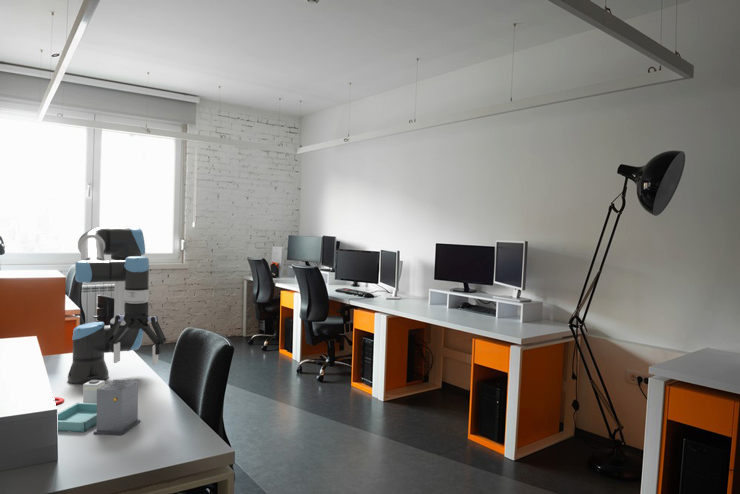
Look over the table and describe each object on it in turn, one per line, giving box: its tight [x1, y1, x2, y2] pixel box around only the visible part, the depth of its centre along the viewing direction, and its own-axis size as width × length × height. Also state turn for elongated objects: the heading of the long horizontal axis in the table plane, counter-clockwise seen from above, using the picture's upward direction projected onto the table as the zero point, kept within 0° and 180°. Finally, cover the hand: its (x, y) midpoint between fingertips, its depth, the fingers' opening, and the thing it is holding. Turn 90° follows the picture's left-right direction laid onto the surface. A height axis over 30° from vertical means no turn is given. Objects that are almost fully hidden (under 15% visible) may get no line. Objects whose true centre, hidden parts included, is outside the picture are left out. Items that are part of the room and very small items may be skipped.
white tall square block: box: [82, 380, 106, 403], centre depth 187 cm, size 5×5×9 cm
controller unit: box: [93, 379, 141, 436], centre depth 165 cm, size 11×9×14 cm
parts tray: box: [57, 402, 97, 433], centre depth 170 cm, size 17×13×3 cm
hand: (136, 362), depth 177 cm, fingers open, 13 cm apart
